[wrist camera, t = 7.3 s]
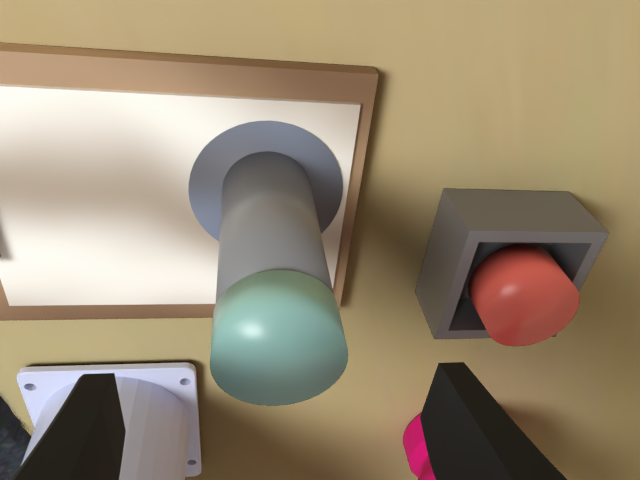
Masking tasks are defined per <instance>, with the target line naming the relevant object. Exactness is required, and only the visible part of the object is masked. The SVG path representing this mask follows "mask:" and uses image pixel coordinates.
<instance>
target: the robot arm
mask: <svg viewBox="0 0 640 480" xmlns="http://www.w3.org/2000/svg"><path fill="white" fill-rule="evenodd" d="M184 378H186V379H184ZM16 380H17V382H18V385H19V388H20V390H21V393H22V396H23V399H24V401H25V404H26V407H27V409H28V412H29V415H30V417H31V420H32V423H33V426H34V428H35V429H34V431H33V434H32V437H31V439H30V442H29V445H28V448H27V450H26V453H25V456H24V459H23V461H22V464H21V467H20V468H19V470H18V471H17V472H16V474H15V475H14V476H13V478H12V479H11V480H185V477H193V476H197V475H199V474H200V473H201V469H202V463H201V446H200V429H199V412H198V395H197V378H196V368H195V366H194V365H193V364H190V363H186V362H183V363H146V364H110V365H73V366H36V367H24V368H22V369H20V370H19V372H18V374H17V377H16ZM420 419H421V424H422V429H423V434H424V439H425V443H426V448H427V452H428V456H429V461H430V464H431V467H432V470H433V473H434V476H435V479H436V480H567V479H566V478H565V477H564V476H563V475H562V474H561V473H560V472H559V471H558V470H557V469H556V468H555V467H554V466H553V464H552V463H551V462H550V461H549V460H548V459H547V458H546V457H545V456H544V455H543V454H542V453H541V452H540V451H539V449H538V448H537V447H536V446H535V445H534V444H533V443H532V442H531V441H530V439H529V438H528V437H527V436H526V435H525V434H524V433H523V432H522V430H521V429H520V428H519V427H518V426H517V425H516V424H515V423H514V421H513V420H512V419H511V418H510V417H509V416H508V414H507V413H506V412H505V411H504V410H503V409H502V407H501V406H500V405H499V404H498V403H497V401H496V400H495V399H494V398H493V397H492V396H491V394H490V393H489V392H488V391H487V390H486V388H485V387H484V386H483V385H482V384H481V382H480V381H479V380H478V379H477V378H476V376H475V375H474V374H473V373H472V372H471V370H470V369H469V368H468V367H467V366H466V365H465V363H464V362H458V363H439V364H438V367H437V370H436V373H435V376H434V378H433V381H432V384H431V387H430V390H429V393H428V396H427V399H426V402H425V404H424V407H423V410H422V413H421V416H420Z"/></svg>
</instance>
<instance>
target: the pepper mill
mask: <svg viewBox="0 0 640 480" xmlns="http://www.w3.org/2000/svg"><path fill="white" fill-rule="evenodd" d="M420 416H421V414H419V415H418V416H417V417H415V418H414V419H413V420H412V422H411V423H410V424H409V425H408V427H407V429H406V431H405V433H404V436H403V444H404V448H405V452H406V455H407V459H408V462H409V466H410V469H411V471H412V472H413V473H414V474H415V475H416V476H417V477H419V478H418V480H436V479H435V476H434V473H433V470H432V467H431V464H430V461H429V456H428V452H427V448H426V443H425V439H424V434H423V429H422V424H421V419H420Z"/></svg>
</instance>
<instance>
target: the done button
mask: <svg viewBox="0 0 640 480" xmlns="http://www.w3.org/2000/svg"><path fill="white" fill-rule="evenodd" d="M468 295H469V297H470V299H471V301H472V303H473V305H474V307H475V309H476V311H477V313H478V315H479V317H480V318H481V320H482V322H483V324H484V326H485V328H486V330H487V332H488V334H489V335H490V337H491V338H492V339H493V340H495V341H496V342H498V343H500V344H503V345H507V346H526V345H531V344H535V343H538V342H541V341H543V340H545V339H547V338H549V337H551V336H553V335H555V334H556V333H558V332H559V331H560V330H562V329H563V328H564V327H565V326H566V325H567V324H568V323H569V322H570V321H571V320H572V318H573V317H574V315H575V314H576V312H577V309H578V307H579V302H580V297H579V292H578V290H577V288H576V287H575V286H574V284H573V283H572V282H571V281H570V279H569V278H568V277H567V275H566V274H565V273H564V272H563V270H562V269H561V268H560V267H559V265H558V264H557V263H556V262H555V260H554V259H553V258H552V256H551V255H550V254H549V253H548V252H547V251H546V250H545V249H543V248H541V247H539V246H536V245H532V244H517V245H512V246H508V247H505V248H502V249H500V250H498V251H496V252H494V253H492V254H490V255H489V256H488V257H486V258H485V259H484V260H483V261H481V262H480V264H479V265H478V266H477V267H476V268H475V269H474V271H473V273H472V274H471V276H470V279H469V282H468Z"/></svg>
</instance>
